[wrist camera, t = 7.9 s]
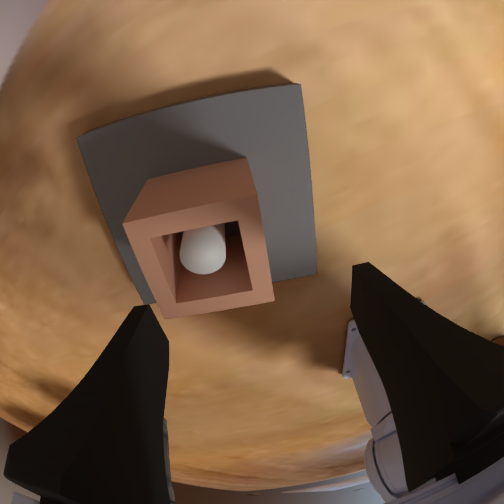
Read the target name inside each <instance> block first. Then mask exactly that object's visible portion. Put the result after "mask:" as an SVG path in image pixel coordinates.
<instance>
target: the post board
mask: <svg viewBox="0 0 504 504" xmlns="http://www.w3.org/2000/svg"><path fill="white" fill-rule="evenodd" d="M77 141H78V144H79V148H80V151H81V154H82V157H83V160H84V163H85V166H86V169H87V172H88V175H89V177H90V180H91V183H92V186H93V188H94V191H95V194H96V197H97V199H98V202H99V204H100V207H101V209H102V212H103V215H104V217H105V220H106V222H107V224H108V227H109V229H110V232H111V234H112V236H113V239H114V241H115V243H116V246H117V248H118V250H119V252H120V255H121V257H122V259H123V261H124V263H125V266H126V268H127V270H128V272H129V274H130V276H131V278H132V281H133V283H134V285H135V287H136V289H137V291H138V293H139V295H140V297H141V299H142V301H143V303H144V305H145V304H152V303H157V302H156V300H155V298H154V296H153V294H152V292H151V289H150V287H149V285H148V283H147V281H146V279H145V276H144V274H143V272H142V270H141V267H140V265H139V263H138V261H137V258H136V256H135V254H134V251H133V249H132V246H131V244H130V242H129V239H128V237H127V234H126V232H125V229H124V227H123V224H122V223H123V221H124V220H125V218H126V216H127V214H128V212H129V211H130V209H131V207H132V205H133V204H134V202H135V200H136V198H137V197H138V195H139V193H140V191H141V190H142V188H143V186H144V185H145V183H146V181H147V180H148V179H151V178H155V177H159V176H163V175H167V174H171V173H176V172H180V171H184V170H188V169H193V168H197V167H202V166H207V165H211V164H216V163H221V162H226V161H231V160H236V159H242V158H247V159H248V163H249V166H250V170H251V173H252V177H253V180H254V184H255V187H256V191H257V194H258V200H259V206H260V212H261V218H262V224H263V230H264V236H265V242H266V248H267V254H268V261H269V267H270V273H271V280H272V283H273V282H279V281H284V280H289V279H294V278H299V277H304V276H309V275H314V274H317V259H316V239H315V222H314V207H313V193H312V181H311V169H310V159H309V148H308V139H307V130H306V121H305V112H304V104H303V97H302V89H301V84H297V83H289V84H280V85H272V86H264V87H258V88H251V89H245V90H239V91H233V92H228V93H222V94H217V95H212V96H207V97H203V98H198V99H194V100H190V101H185V102H181V103H177V104H173V105H169V106H166V107H162V108H158V109H155V110H151V111H148V112H144V113H141V114H138V115H134V116H131V117H128V118H125V119H122V120H119V121H116V122H113V123H110V124H107V125H104V126H102V127H99V128H96V129H93V130H91V131H88V132H86V133H84V134H82V135H81V136H79V137H77ZM181 235H182V242H181V248H180V260H181V262H182V264H183V265H184V267H185V268H186V269H188V270H189V271H191V272H193V273H196V274H210V273H213V272H215V271H217V270H219V269H220V268H221V267H222V265H223V264H224V262H225V259H226V246H225V238H226V237H231V236H237V235H241V232H240V227H239V223H238V220H237V221H232V222H227V223H221V224H216V225H211V226H206V227H201V228H196V229H191V230H186V231H182V232H181Z"/></svg>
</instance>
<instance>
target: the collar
mask: <svg viewBox="0 0 504 504" xmlns="http://www.w3.org/2000/svg"><path fill="white" fill-rule="evenodd" d="M237 220H238V223H239V227H240V232H241V235H237V236H231V237H226V238H225V246H226V259H225V262H224V264H223V265H222V267H221V268H220V269H219V270H217V271H215V272H213V273H210V274H196V273H193V272H191V271H189V270H188V269H186V268H185V267H184V265H183V264H182V262H181V260H180V248H181V242H182V235H181V232H182V231H186V230H191V229H196V228H201V227H206V226H211V225H216V224H221V223H227V222H232V221H237ZM122 224H123V227H124V229H125V232H126V234H127V237H128V239H129V242H130V244H131V246H132V249H133V251H134V254H135V256H136V258H137V261H138V263H139V265H140V267H141V270H142V272H143V274H144V276H145V279H146V281H147V283H148V285H149V287H150V289H151V292H152V294H153V296H154V298H155V300H156V302H157V304H158V306H159V308H160V310H161V312H162V314H163V317H164V319H170V318H177V317H184V316H190V315H197V314H203V313H209V312H215V311H221V310H227V309H233V308H239V307H245V306H250V305H256V304H261V303H267V302H272V301H275V299H274V292H273V286H272V280H271V273H270V267H269V261H268V254H267V248H266V242H265V236H264V230H263V224H262V218H261V212H260V206H259V200H258V194H257V191H256V187H255V184H254V180H253V177H252V173H251V170H250V166H249V163H248V159H247V158H242V159H236V160H231V161H226V162H221V163H216V164H211V165H207V166H202V167H197V168H193V169H188V170H184V171H180V172H176V173H171V174H167V175H163V176H159V177H155V178H151V179H148V180H147V181H146V183H145V185H144V186H143V188H142V190H141V191H140V193H139V195H138V197H137V198H136V200H135V202H134V204H133V205H132V207H131V209H130V211H129V212H128V214H127V216H126V218H125V220H124V221H123V223H122Z"/></svg>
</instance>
